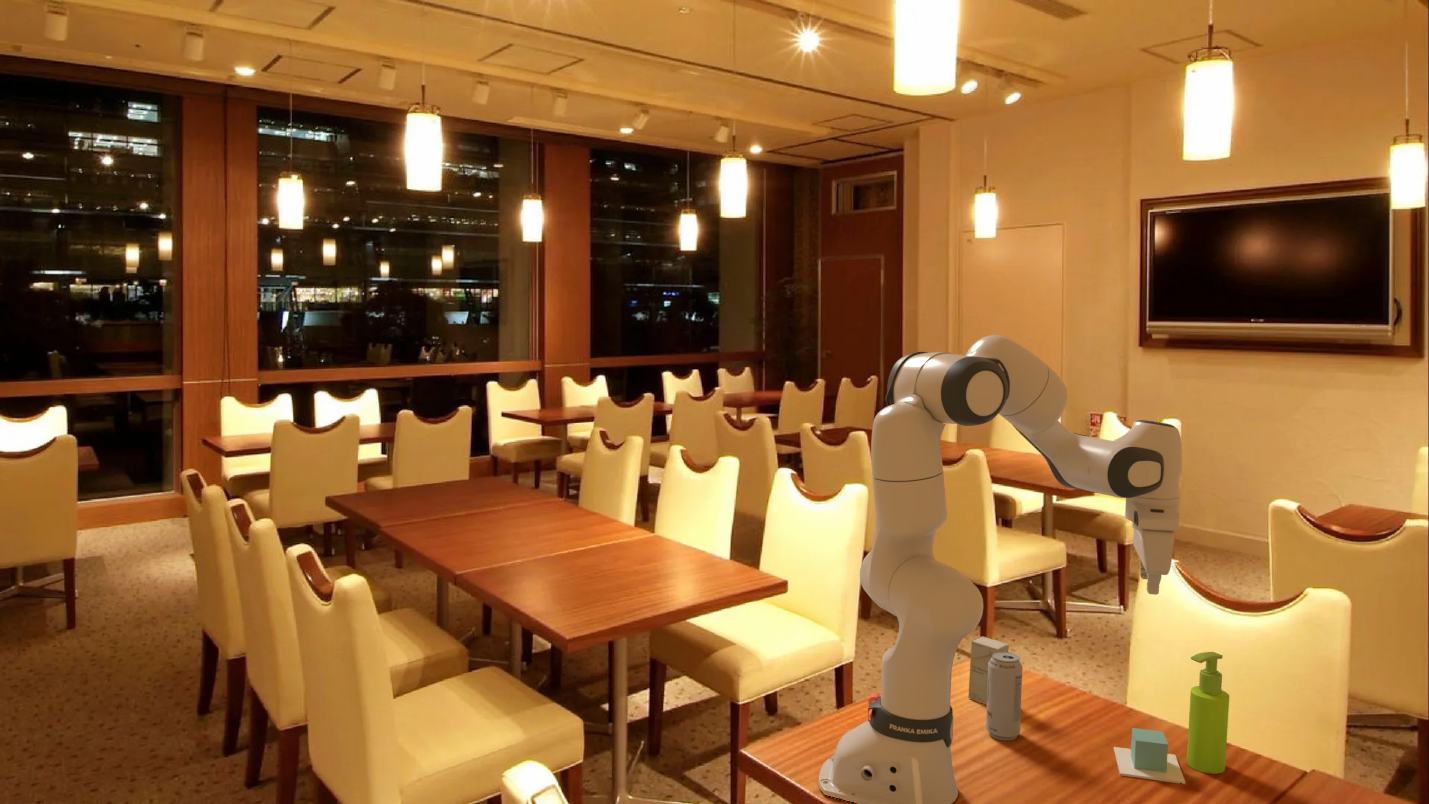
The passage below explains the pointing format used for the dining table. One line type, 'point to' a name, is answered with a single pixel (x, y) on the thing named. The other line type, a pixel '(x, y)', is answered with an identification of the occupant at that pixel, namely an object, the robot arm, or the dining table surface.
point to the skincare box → (982, 666)
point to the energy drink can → (1004, 696)
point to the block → (1149, 750)
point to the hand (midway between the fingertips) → (1148, 585)
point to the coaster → (1128, 770)
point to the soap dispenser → (1208, 718)
